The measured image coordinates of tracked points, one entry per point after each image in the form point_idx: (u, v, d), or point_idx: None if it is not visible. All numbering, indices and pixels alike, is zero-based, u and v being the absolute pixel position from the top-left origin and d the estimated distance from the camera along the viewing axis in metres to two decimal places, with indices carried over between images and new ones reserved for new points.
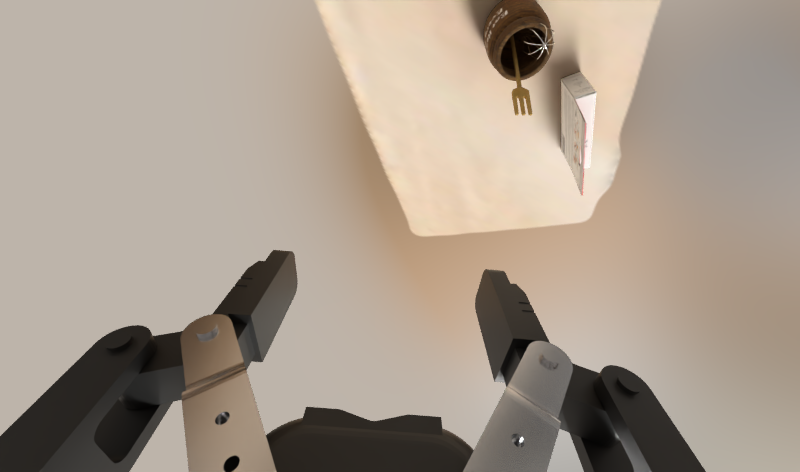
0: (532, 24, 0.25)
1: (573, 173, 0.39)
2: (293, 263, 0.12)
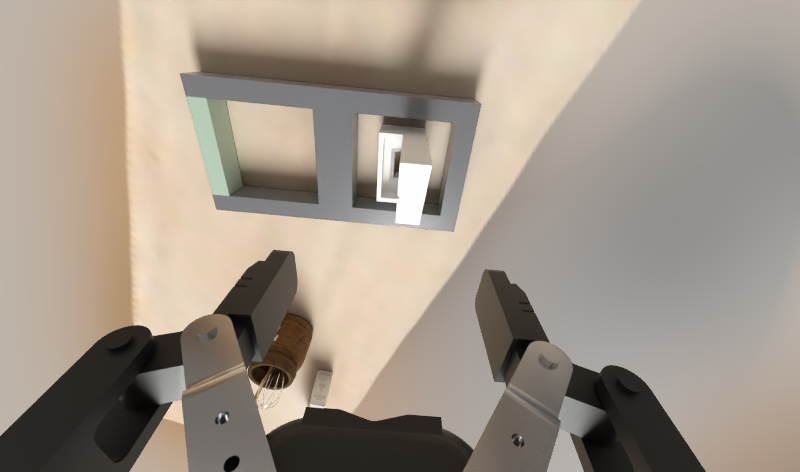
0: (279, 368, 0.32)
1: None
2: (293, 263, 0.12)
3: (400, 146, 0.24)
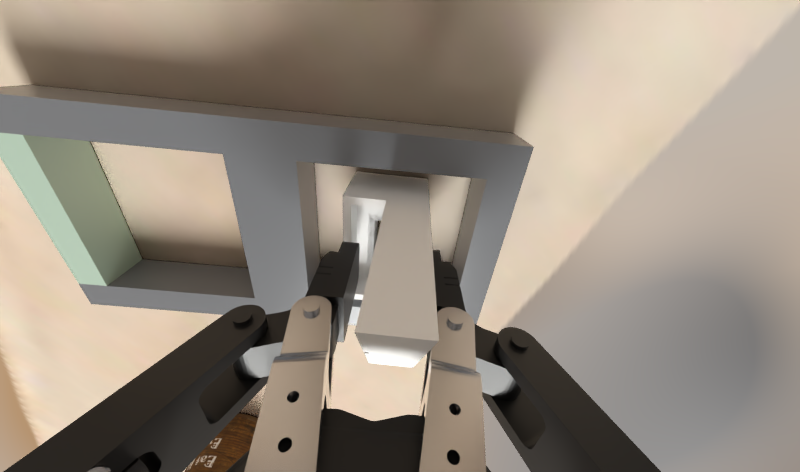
0: None
1: None
2: (358, 254, 0.13)
3: None
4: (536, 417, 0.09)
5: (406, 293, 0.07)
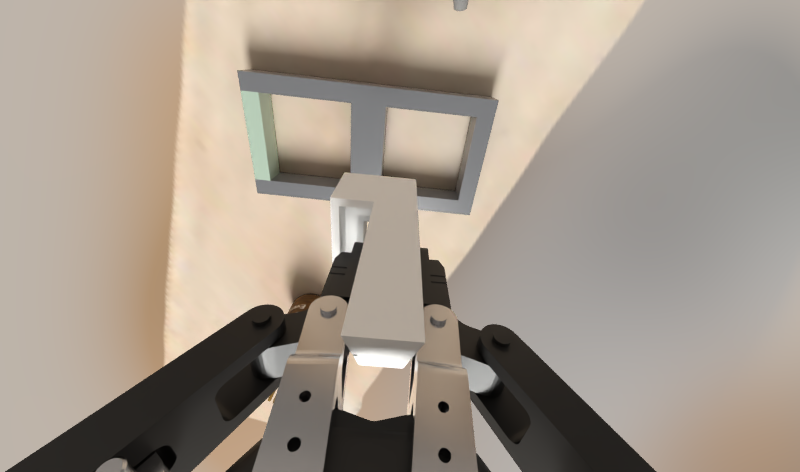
0: None
1: None
2: None
3: None
4: (520, 411, 0.09)
5: (393, 295, 0.07)
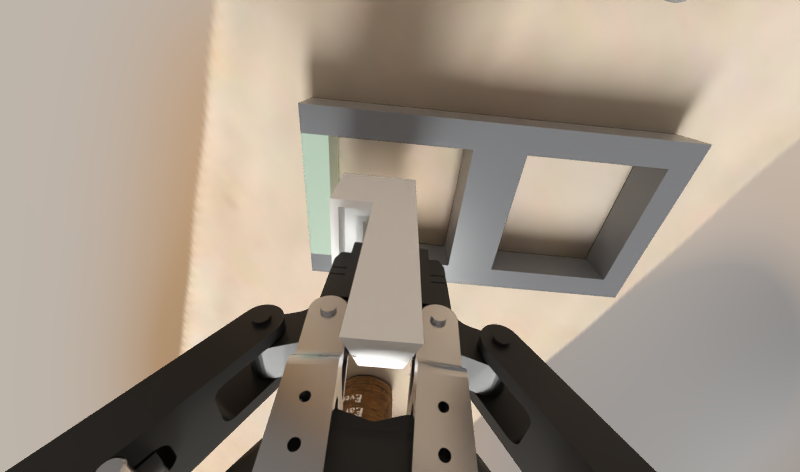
0: None
1: None
2: None
3: None
4: (520, 411, 0.09)
5: (392, 296, 0.07)
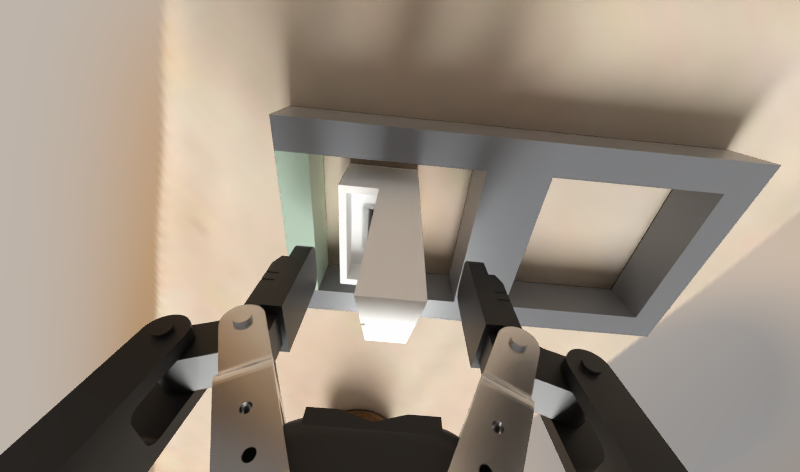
0: None
1: None
2: (314, 258, 0.12)
3: None
4: (598, 452, 0.08)
5: (398, 265, 0.08)
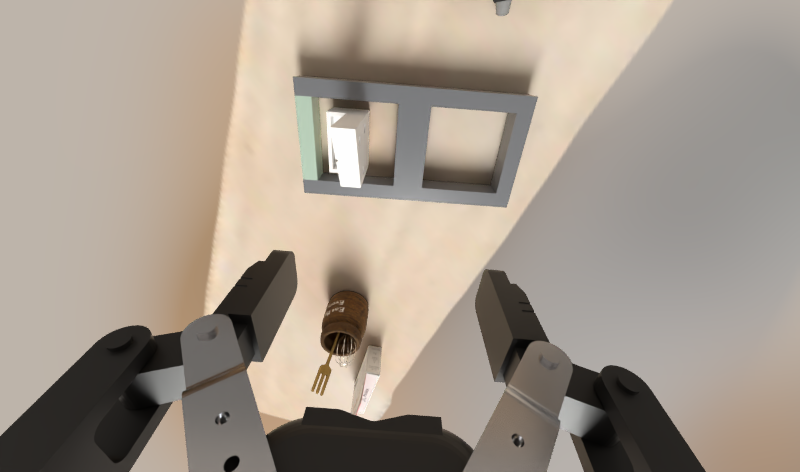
0: (350, 334, 0.36)
1: None
2: (293, 263, 0.12)
3: None
4: None
5: (347, 124, 0.22)
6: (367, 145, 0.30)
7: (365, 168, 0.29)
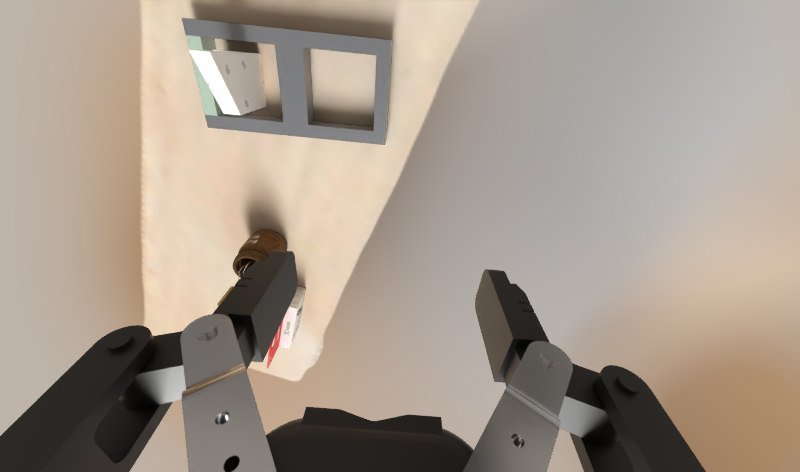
0: (257, 260, 0.41)
1: (276, 348, 0.53)
2: (293, 263, 0.12)
3: None
4: None
5: (210, 51, 0.27)
6: (258, 84, 0.35)
7: (254, 104, 0.34)
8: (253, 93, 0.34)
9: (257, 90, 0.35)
